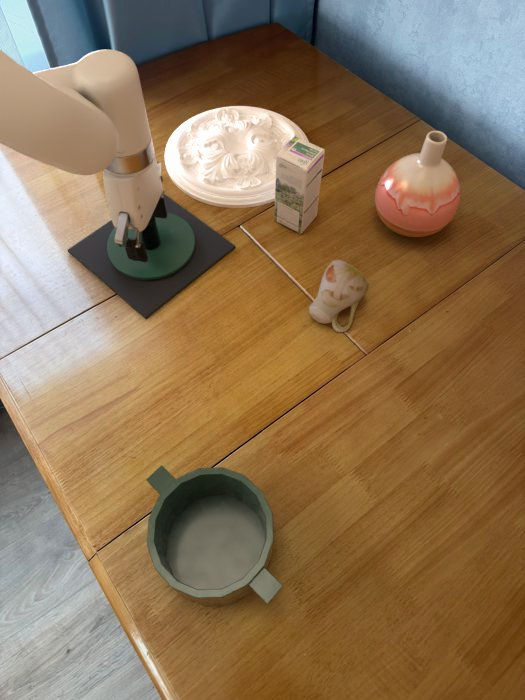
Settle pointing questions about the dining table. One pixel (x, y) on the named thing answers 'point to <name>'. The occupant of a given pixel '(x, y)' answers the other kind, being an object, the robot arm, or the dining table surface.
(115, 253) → the lid
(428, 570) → the dining table surface
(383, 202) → the vase
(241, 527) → the pot
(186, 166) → the ceiling medallion
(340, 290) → the mug
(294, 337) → the dining table surface
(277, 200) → the syrup box
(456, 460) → the dining table surface
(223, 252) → the mat
